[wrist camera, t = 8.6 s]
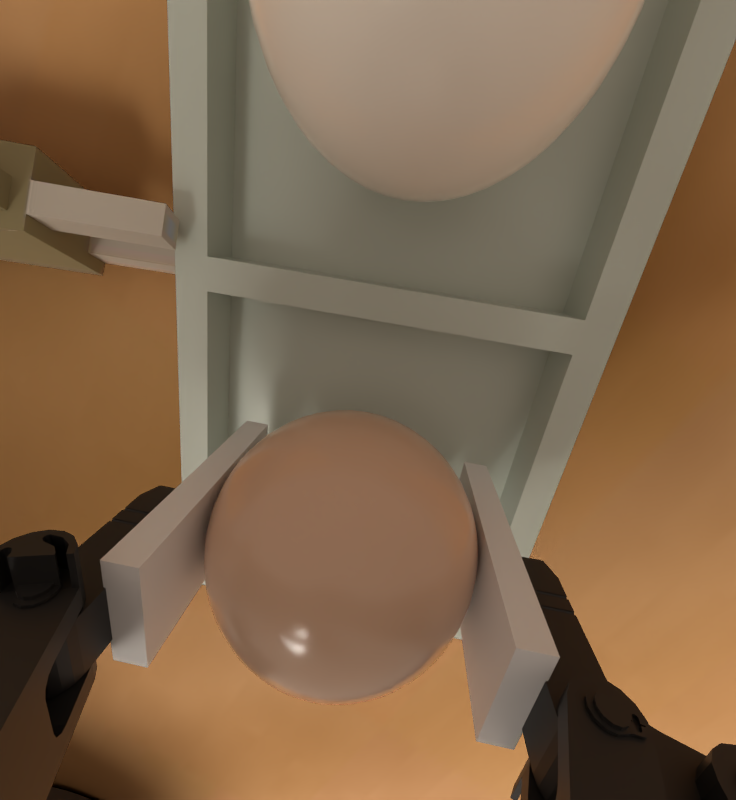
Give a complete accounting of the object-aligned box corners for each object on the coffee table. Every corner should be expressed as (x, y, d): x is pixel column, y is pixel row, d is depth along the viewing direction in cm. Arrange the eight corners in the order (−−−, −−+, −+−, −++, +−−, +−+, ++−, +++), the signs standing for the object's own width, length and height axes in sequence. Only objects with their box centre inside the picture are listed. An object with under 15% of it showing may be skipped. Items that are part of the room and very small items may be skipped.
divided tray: (211, 544, 17) (184, 580, 15) (214, -288, 9) (153, -460, 7) (483, 600, 17) (493, 646, 15) (783, -232, 8) (912, -402, 6)
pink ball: (272, 361, 12) (113, 470, 6) (481, 399, 12) (571, 561, 5) (261, 529, 15) (142, 741, 8) (434, 564, 14) (456, 814, 8)
